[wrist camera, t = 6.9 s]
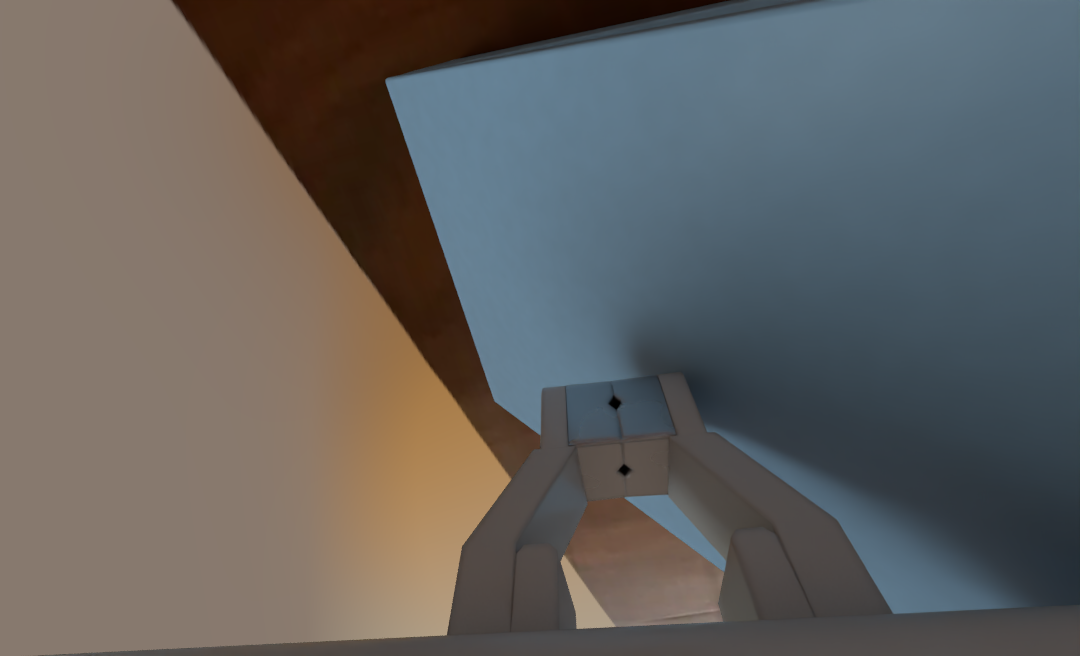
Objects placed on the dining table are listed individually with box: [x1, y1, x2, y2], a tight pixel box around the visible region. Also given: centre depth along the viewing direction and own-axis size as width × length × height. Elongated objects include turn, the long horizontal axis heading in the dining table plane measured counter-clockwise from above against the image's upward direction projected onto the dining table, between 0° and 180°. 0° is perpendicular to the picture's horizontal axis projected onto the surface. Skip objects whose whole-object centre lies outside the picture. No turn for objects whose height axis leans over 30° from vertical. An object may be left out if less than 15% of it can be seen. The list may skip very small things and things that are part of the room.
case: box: [405, 0, 799, 74], centre depth 18 cm, size 16×13×9 cm
